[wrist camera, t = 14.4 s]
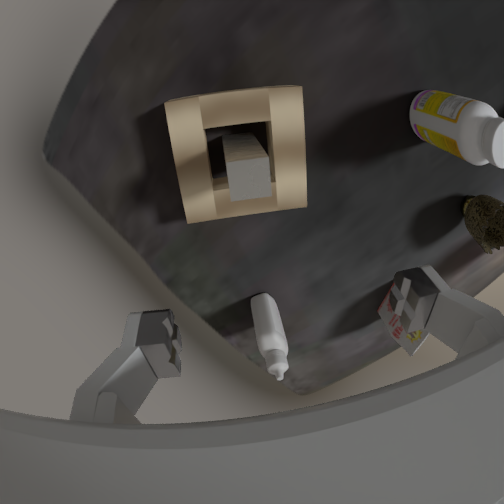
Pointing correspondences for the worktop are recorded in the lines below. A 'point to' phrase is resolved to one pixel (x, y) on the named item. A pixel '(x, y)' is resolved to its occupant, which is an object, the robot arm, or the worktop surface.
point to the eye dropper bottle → (270, 334)
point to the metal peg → (246, 167)
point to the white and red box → (400, 328)
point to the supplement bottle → (459, 126)
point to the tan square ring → (230, 113)
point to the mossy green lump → (484, 220)
